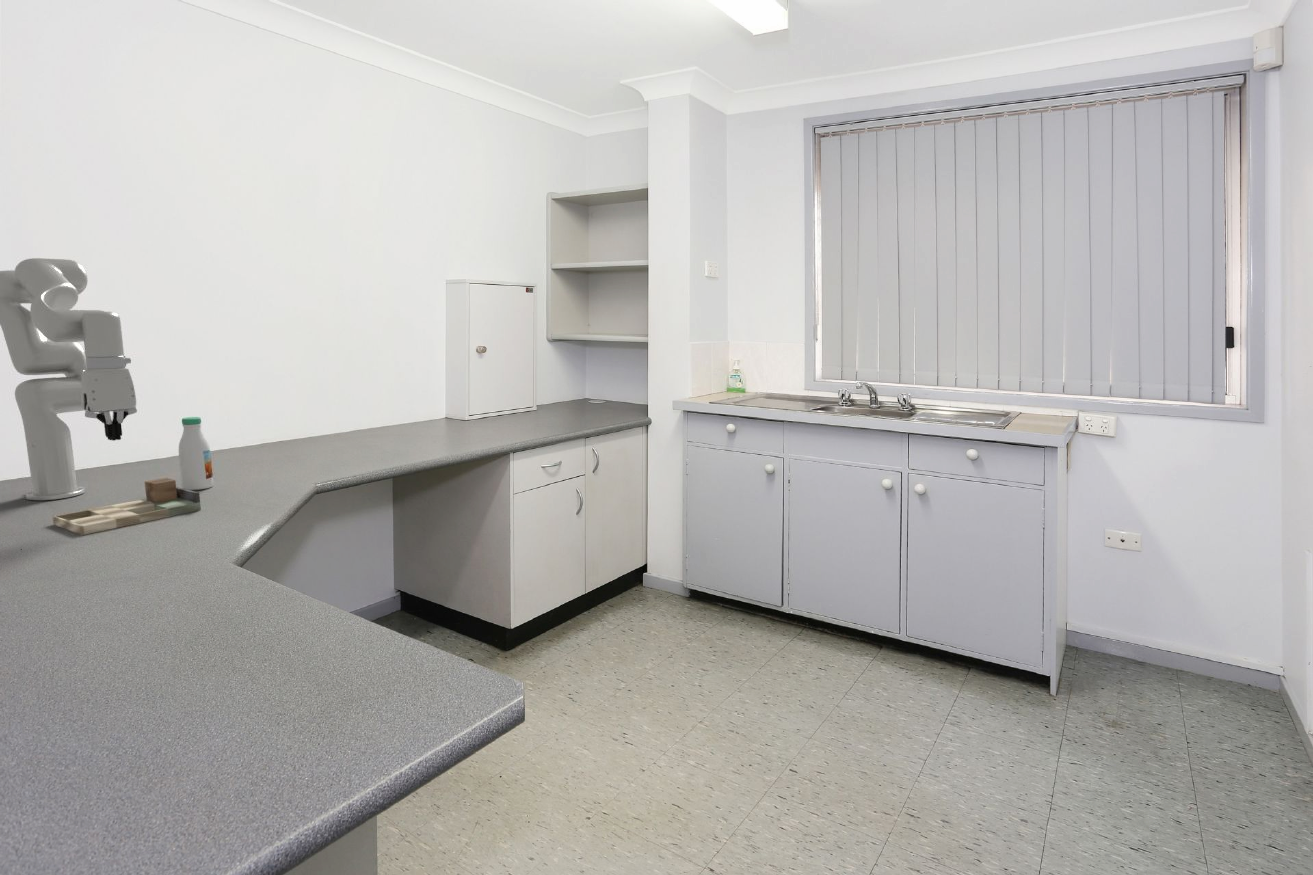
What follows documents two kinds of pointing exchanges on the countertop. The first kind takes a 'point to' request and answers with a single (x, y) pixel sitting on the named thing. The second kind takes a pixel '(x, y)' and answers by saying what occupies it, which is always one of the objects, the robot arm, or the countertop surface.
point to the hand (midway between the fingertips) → (114, 439)
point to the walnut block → (160, 490)
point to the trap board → (127, 513)
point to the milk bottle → (194, 456)
